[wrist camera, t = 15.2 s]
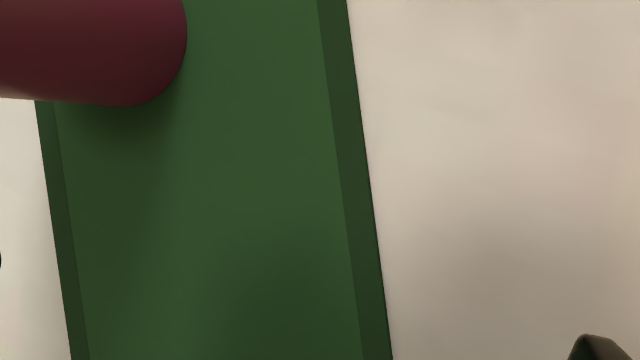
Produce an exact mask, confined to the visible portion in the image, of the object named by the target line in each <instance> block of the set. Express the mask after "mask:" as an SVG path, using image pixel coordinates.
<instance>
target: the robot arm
mask: <svg viewBox="0 0 640 360" xmlns="http://www.w3.org/2000/svg"><path fill="white" fill-rule="evenodd" d="M0 267H1V254H0ZM567 360H632V359H631V358H630V357H629V356H628V355H627V354H626V353H625V352H624V351H623V350H622V349H621V348H620V347H619V346H618V345H617V344H616V343H615V342H614V341H612V340H611V339H609V338H605V337H600V336H595V335H589V334H583V335H580V336H579V337H578V339H577V340H576V342H575V344H574V346H573V349H572V351H571V353H570V355H569V357H568V359H567Z"/></svg>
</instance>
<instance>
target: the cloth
mask: <svg viewBox="0 0 640 360" xmlns="http://www.w3.org/2000/svg"><path fill="white" fill-rule="evenodd" d="M180 1H181V4H182V6H183V10H184V14H185V19H186V27H187V37H186V47H185V51H184V56H183V59H182V62H181V65H180V67H179V69H178V71H177V73H176V75H175V76H174V78H173V79H172V81H171V82H170V83H169V85H168V86H167V87H166V88H165V89H164V90H163V91H162V92H161V93H160V94H158V95H157V96H155V97H154V98H153V99H151V100H149V101H147V102H145V103H142V104H139V105H134V106H109V105H95V104H81V103H68V102H54V101H40V100H34V102H35V109H36V116H37V123H38V130H39V137H40V144H41V151H42V158H43V165H44V172H45V179H46V186H47V193H48V200H49V207H50V213H51V220H52V227H53V234H54V241H55V248H56V255H57V262H58V269H59V276H60V283H61V290H62V297H63V304H64V311H65V318H66V325H67V332H68V339H69V346H70V353H71V360H393V356H392V349H391V341H390V333H389V326H388V318H387V310H386V303H385V295H384V287H383V280H382V272H381V264H380V257H379V249H378V241H377V234H376V226H375V218H374V211H373V203H372V195H371V188H370V180H369V172H368V165H367V157H366V149H365V142H364V134H363V126H362V119H361V111H360V103H359V96H358V88H357V80H356V73H355V65H354V57H353V50H352V42H351V34H350V27H349V19H348V11H347V4H346V0H180Z"/></svg>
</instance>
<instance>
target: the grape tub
mask: <svg viewBox="0 0 640 360" xmlns="http://www.w3.org/2000/svg"><path fill="white" fill-rule="evenodd" d="M186 37H187V27H186V19H185V14H184V10H183V6H182V4H181V1H180V0H0V98H12V99H26V100H40V101H54V102H68V103H81V104H95V105H109V106H134V105H139V104H142V103H145V102H147V101H149V100H151V99H153V98H154V97H155V96H157V95H158V94H160V93H161V92H162V91H163V90H164V89H165V88H166V87H167V86H168V85H169V83H170V82H171V81H172V79H173V78H174V76H175V75H176V73H177V71H178V69H179V67H180V65H181V62H182V59H183V56H184V51H185V47H186Z"/></svg>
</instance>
